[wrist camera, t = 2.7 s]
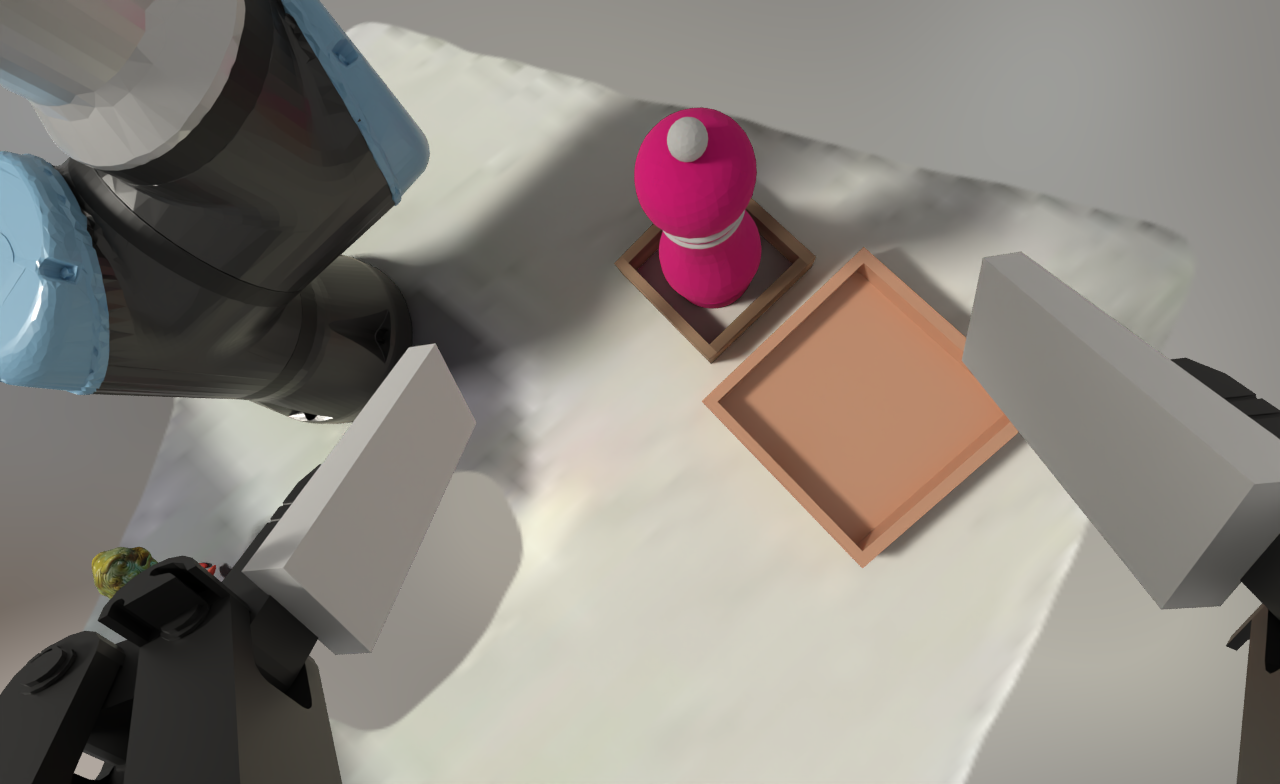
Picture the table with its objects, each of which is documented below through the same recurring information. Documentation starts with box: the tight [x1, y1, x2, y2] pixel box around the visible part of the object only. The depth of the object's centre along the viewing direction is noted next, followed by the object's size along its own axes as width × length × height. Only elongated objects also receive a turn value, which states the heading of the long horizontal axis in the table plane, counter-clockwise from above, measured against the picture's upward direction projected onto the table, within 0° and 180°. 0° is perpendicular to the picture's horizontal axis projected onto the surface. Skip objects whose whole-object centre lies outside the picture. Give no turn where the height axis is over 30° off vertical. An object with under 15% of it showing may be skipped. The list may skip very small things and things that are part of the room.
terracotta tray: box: [702, 247, 1019, 568], centre depth 37 cm, size 16×16×3 cm
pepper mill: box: [634, 108, 761, 308], centre depth 31 cm, size 7×7×20 cm
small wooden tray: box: [614, 198, 816, 363], centre depth 40 cm, size 11×11×2 cm
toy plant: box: [92, 547, 216, 599], centre depth 44 cm, size 8×10×12 cm
